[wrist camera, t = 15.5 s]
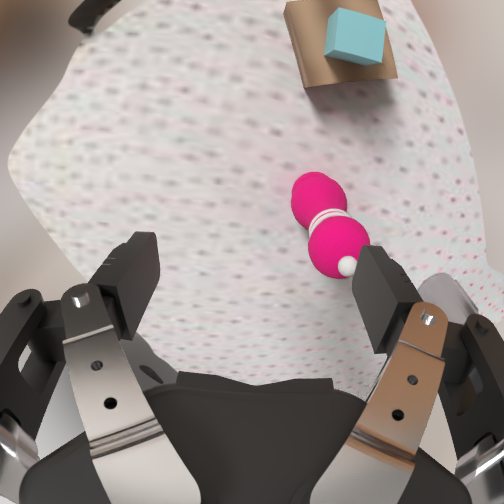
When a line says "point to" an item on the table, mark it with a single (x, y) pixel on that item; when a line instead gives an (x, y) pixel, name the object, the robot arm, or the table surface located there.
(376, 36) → the teal cube
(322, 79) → the walnut box
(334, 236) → the pepper mill
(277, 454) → the robot arm
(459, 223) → the table surface
